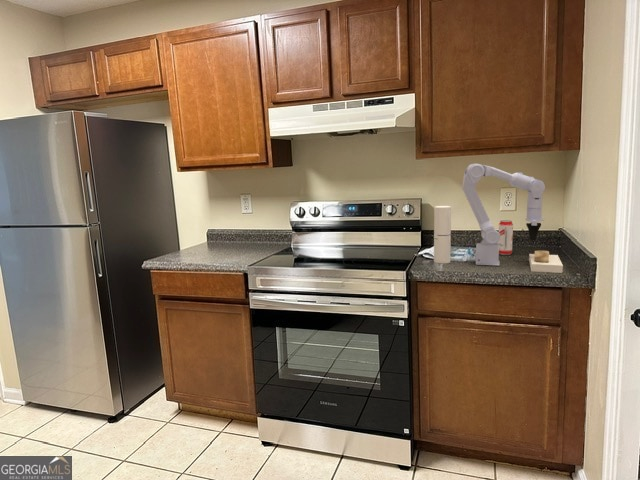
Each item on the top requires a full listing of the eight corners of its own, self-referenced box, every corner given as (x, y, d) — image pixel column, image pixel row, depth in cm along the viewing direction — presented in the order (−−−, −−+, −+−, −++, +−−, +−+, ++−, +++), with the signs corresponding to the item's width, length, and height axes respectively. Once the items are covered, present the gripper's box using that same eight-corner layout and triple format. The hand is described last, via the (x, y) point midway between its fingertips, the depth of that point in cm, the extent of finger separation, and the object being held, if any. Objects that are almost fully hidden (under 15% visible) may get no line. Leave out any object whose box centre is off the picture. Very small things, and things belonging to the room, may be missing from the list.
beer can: (508, 252, 209) (509, 219, 207) (514, 255, 203) (515, 221, 200) (495, 253, 209) (496, 220, 206) (501, 255, 203) (502, 222, 200)
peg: (534, 269, 176) (535, 252, 174) (533, 266, 180) (533, 250, 179) (549, 270, 174) (550, 253, 173) (547, 267, 179) (548, 250, 177)
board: (531, 271, 173) (531, 264, 173) (529, 260, 191) (529, 253, 191) (562, 273, 169) (562, 265, 168) (557, 261, 187) (557, 255, 186)
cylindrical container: (446, 264, 191) (446, 207, 186) (431, 262, 195) (431, 207, 191) (452, 261, 196) (453, 206, 192) (438, 259, 201) (438, 205, 196)
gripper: (546, 210, 173) (544, 243, 175) (544, 206, 186) (542, 237, 188) (526, 210, 176) (525, 242, 178) (526, 206, 189) (524, 237, 191)
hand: (532, 240), depth 183 cm, fingers closed
